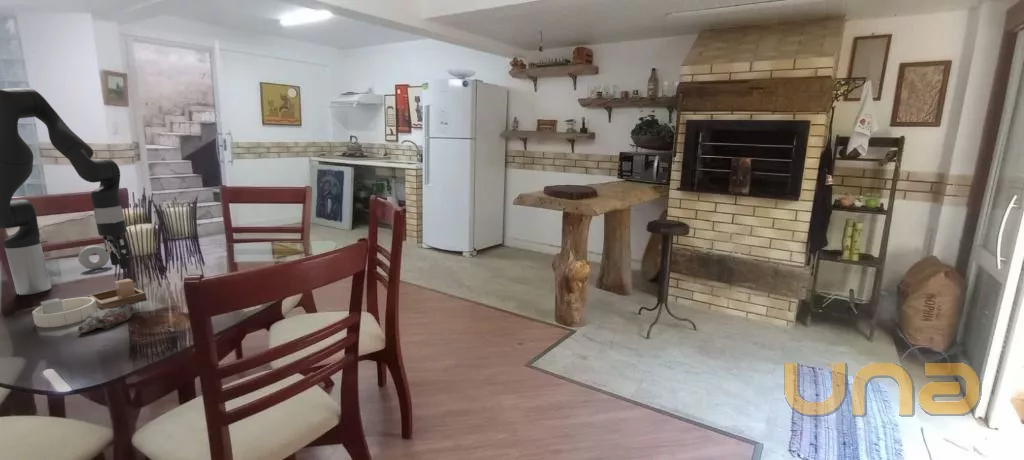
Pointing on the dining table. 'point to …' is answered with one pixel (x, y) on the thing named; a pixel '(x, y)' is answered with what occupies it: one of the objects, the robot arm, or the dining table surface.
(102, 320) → the mineral rock
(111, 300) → the walnut tray
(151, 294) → the dining table surface
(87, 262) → the donut
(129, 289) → the tan block
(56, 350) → the dining table surface
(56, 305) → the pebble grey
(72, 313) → the cream bowl
